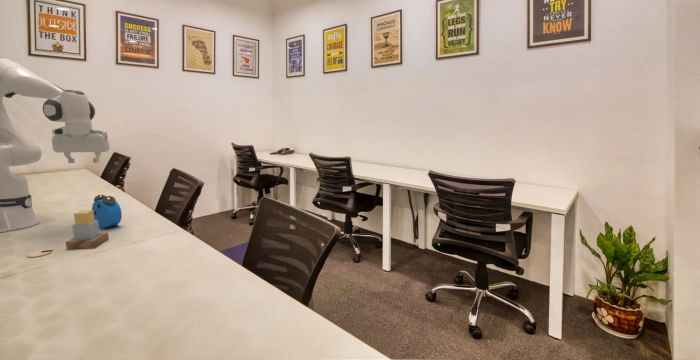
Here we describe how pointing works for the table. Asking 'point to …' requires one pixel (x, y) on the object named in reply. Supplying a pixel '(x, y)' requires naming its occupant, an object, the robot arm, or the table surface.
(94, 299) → the table surface
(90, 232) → the slate cube
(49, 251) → the table surface
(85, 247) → the walnut base
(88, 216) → the mustard cube
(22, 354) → the table surface
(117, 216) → the alarm clock
